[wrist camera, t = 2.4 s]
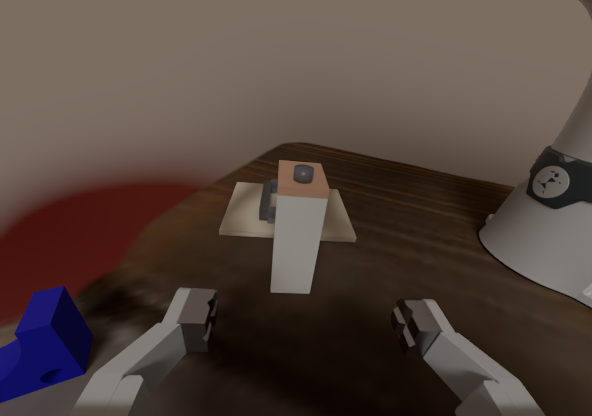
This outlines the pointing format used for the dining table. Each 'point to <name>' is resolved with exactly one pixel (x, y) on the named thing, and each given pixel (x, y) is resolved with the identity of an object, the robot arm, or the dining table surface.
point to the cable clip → (45, 345)
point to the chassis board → (262, 210)
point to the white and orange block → (298, 225)
